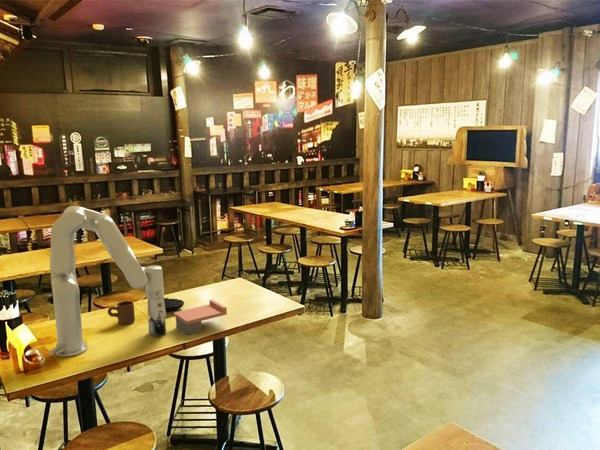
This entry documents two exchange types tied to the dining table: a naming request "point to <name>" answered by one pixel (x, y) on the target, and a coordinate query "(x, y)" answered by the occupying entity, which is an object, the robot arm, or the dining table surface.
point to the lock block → (153, 328)
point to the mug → (123, 312)
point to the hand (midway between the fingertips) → (157, 331)
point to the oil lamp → (172, 304)
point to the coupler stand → (198, 316)
